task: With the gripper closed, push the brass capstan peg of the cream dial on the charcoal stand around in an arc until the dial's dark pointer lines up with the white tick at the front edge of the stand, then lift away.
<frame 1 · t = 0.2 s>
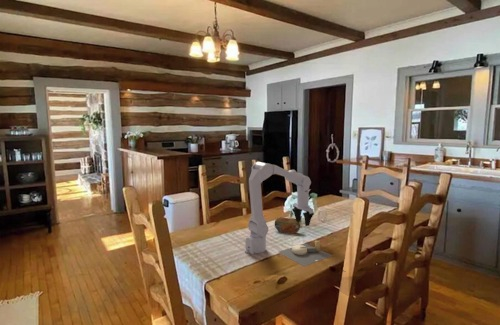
hand: (302, 223, 158), 10 cm above the table, tool pointing down, fingers open, 7 cm apart
stand plate: (304, 256, 141), on the table
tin: (287, 232, 175), on the table
cam dial: (306, 246, 143), point 4 cm above the table, hinge at 60.0°
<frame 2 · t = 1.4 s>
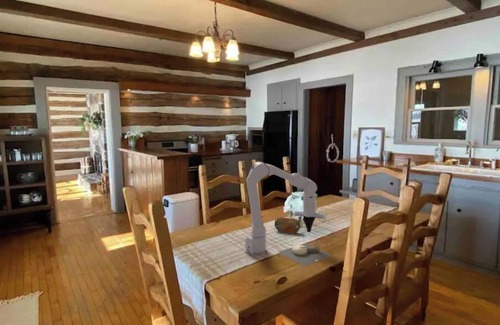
hand: (309, 231, 148), 9 cm above the table, tool pointing down, fingers closed
nothing on the table moved.
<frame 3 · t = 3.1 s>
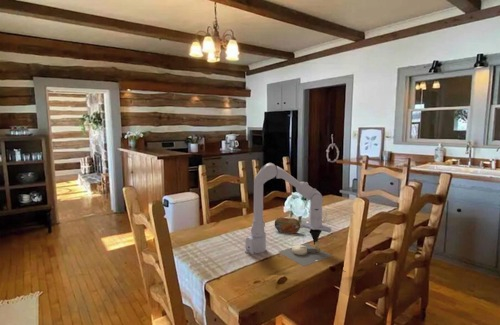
hand: (315, 244, 145), 4 cm above the table, tool pointing down, fingers closed, pressing on cam dial
cam dial: (306, 247, 142), point 4 cm above the table, hinge at 55.7°, touching gripper
everything else where it was.
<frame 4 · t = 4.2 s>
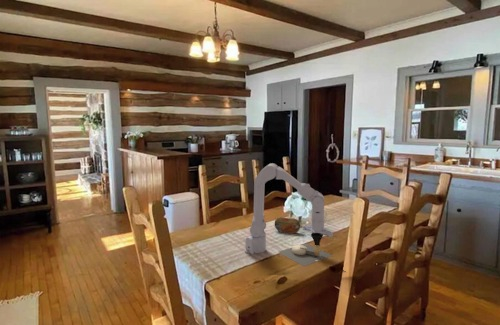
hand: (317, 248, 140), 4 cm above the table, tool pointing down, fingers closed, pressing on cam dial
cam dial: (305, 248, 141), point 4 cm above the table, hinge at 24.6°, touching gripper
everything else where it was.
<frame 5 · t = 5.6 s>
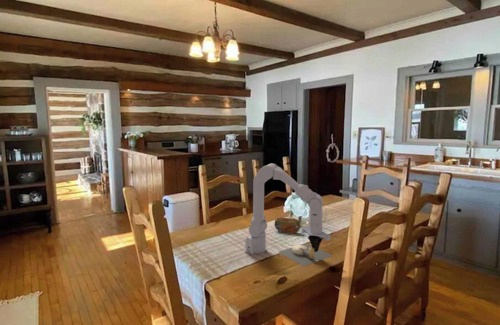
hand: (315, 251, 137), 4 cm above the table, tool pointing down, fingers closed, pressing on cam dial
cam dial: (303, 249, 140), point 4 cm above the table, hinge at -3.5°, touching gripper
everything else where it was.
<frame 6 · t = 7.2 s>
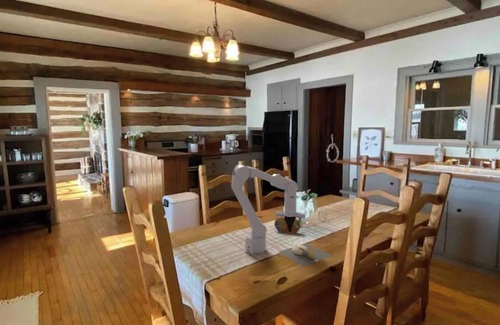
hand: (290, 231, 149), 9 cm above the table, tool pointing down, fingers closed
cam dial: (303, 249, 140), point 4 cm above the table, hinge at -3.6°
everything else where it was.
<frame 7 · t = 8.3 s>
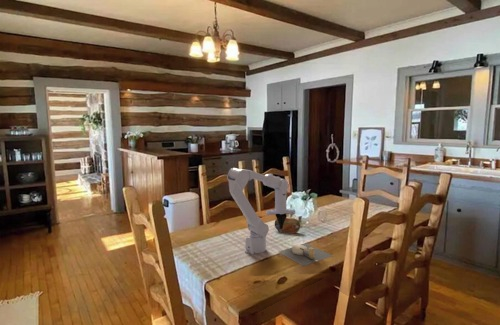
hand: (280, 228, 153), 9 cm above the table, tool pointing down, fingers closed
nothing on the table moved.
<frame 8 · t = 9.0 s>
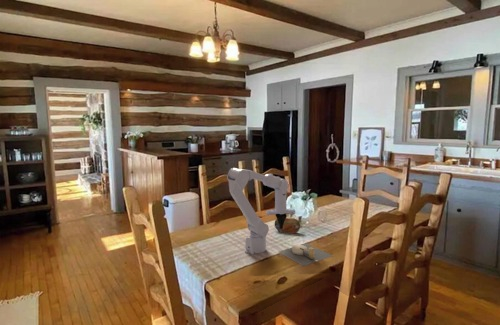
hand: (280, 228, 153), 9 cm above the table, tool pointing down, fingers closed
nothing on the table moved.
at the end: cam dial at -4° (first picture: +60°); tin moved 0.3 cm from its start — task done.
